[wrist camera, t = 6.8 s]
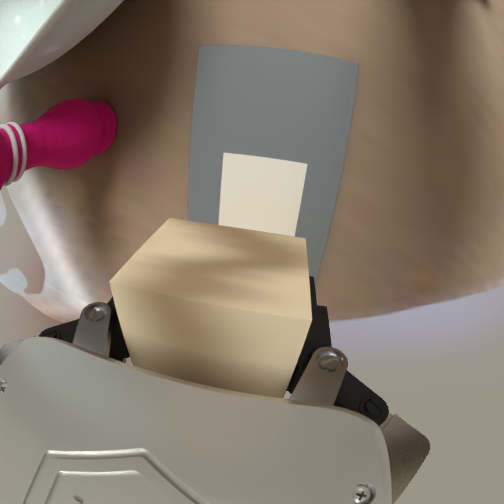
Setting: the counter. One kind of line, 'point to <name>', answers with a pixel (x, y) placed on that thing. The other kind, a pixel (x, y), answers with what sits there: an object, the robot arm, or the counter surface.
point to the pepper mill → (56, 138)
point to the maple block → (216, 306)
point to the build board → (270, 141)
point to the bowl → (44, 31)
